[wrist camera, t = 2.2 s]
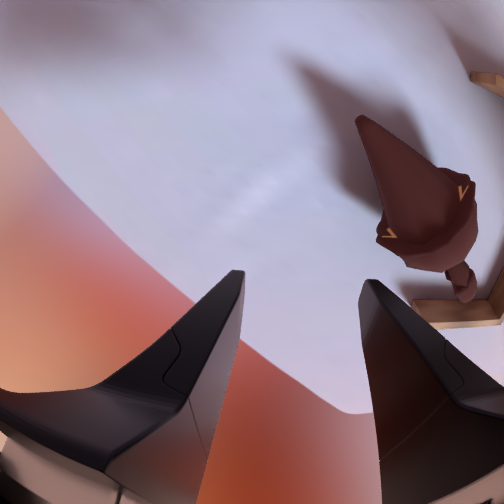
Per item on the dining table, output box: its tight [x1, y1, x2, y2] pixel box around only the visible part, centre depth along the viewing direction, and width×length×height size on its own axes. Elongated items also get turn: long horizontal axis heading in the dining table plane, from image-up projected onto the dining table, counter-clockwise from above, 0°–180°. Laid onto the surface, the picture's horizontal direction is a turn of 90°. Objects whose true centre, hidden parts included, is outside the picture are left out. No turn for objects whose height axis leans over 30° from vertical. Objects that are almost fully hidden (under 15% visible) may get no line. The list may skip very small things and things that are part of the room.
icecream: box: [355, 115, 478, 303], centre depth 15 cm, size 7×7×15 cm
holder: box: [411, 72, 504, 329], centre depth 16 cm, size 11×20×3 cm, turn 178°
